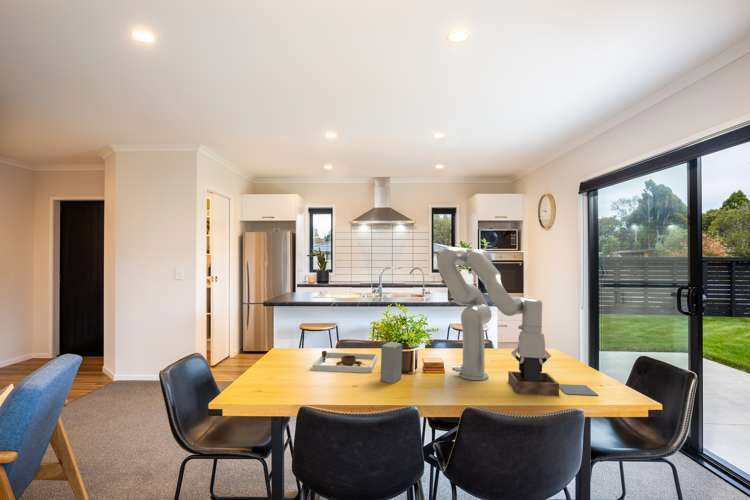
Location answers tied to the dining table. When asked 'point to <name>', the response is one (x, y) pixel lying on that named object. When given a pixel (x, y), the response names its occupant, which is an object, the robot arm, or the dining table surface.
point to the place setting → (345, 360)
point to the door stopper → (531, 370)
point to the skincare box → (391, 362)
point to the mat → (577, 390)
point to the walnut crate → (533, 384)
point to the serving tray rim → (346, 368)
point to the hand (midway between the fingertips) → (530, 372)
